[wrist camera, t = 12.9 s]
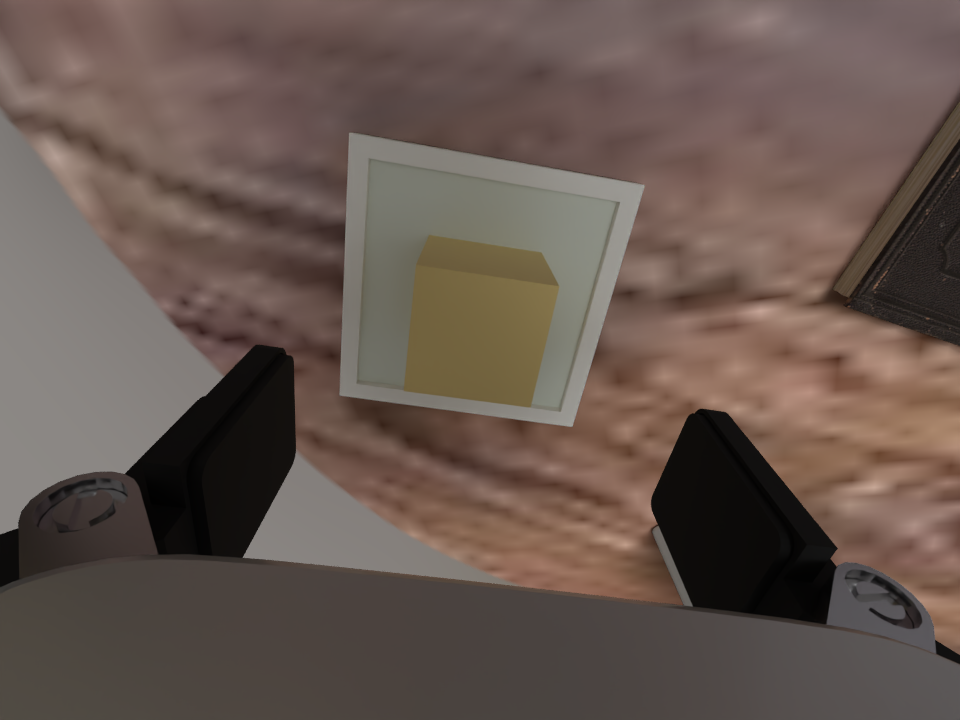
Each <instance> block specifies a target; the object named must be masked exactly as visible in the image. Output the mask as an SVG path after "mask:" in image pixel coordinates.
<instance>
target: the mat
mask: <svg viewBox="0 0 960 720" xmlns="http://www.w3.org/2000/svg"><path fill="white" fill-rule="evenodd" d="M644 187H645V185H642V184H639V183H636V182H630V181H624V180H619V179H613V178H608V177H602V176H596V175H591V174H585V173H580V172H574V171H568V170H563V169H557V168H551V167H546V166H540V165H535V164H529V163H523V162H518V161H512V160H507V159H501V158H495V157H490V156H484V155H479V154H473V153H467V152H462V151H456V150H451V149H445V148H439V147H434V146H428V145H422V144H417V143H411V142H406V141H400V140H394V139H389V138H383V137H378V136H372V135H366V134H361V133H355V132H354V133H349V149H348V176H347V203H346V231H345V258H344V285H343V312H342V340H341V367H340V394H339V396H346V397H354V398H361V399H369V400H376V401H384V402H391V403H398V404H406V405H413V406H421V407H428V408H435V409H443V410H450V411H458V412H465V413H473V414H480V415H487V416H495V417H502V418H510V419H517V420H524V421H532V422H539V423H547V424H554V425H562V426H569V427H573V423H574V420H575V417H576V413H577V410H578V407H579V403H580V400H581V397H582V393H583V390H584V387H585V383H586V380H587V377H588V373H589V370H590V367H591V363H592V360H593V357H594V353H595V350H596V347H597V343H598V340H599V337H600V333H601V330H602V327H603V323H604V320H605V317H606V313H607V310H608V307H609V303H610V300H611V297H612V293H613V290H614V287H615V283H616V280H617V277H618V273H619V270H620V267H621V263H622V260H623V257H624V253H625V250H626V247H627V243H628V240H629V237H630V233H631V230H632V227H633V223H634V220H635V217H636V213H637V210H638V207H639V203H640V200H641V197H642V193H643V190H644ZM429 235H433V236H439V237H446V238H452V239H459V240H465V241H472V242H478V243H484V244H491V245H497V246H504V247H510V248H516V249H523V250H529V251H536V252H542V254H543V256H544V258H545V260H546V262H547V264H548V265H549V267H550V269H551V271H552V273H553V275H554V277H555V279H556V281H557V283H558V284H559V286H560V287H559V291H558V295H557V299H556V303H555V308H554V312H553V316H552V320H551V324H550V328H549V333H548V337H547V341H546V345H545V349H544V354H543V358H542V362H541V366H540V370H539V375H538V379H537V383H536V387H535V391H534V395H533V400H532V404H531V408H529V407H521V406H514V405H506V404H498V403H491V402H483V401H475V400H468V399H460V398H452V397H445V396H437V395H429V394H422V393H414V392H406V391H404V382H405V371H406V361H407V351H408V340H409V330H410V320H411V310H412V299H413V289H414V279H415V268H416V263H417V261H418V259H419V257H420V254H421V252H422V250H423V248H424V245H425V243H426V241H427V239H428V236H429Z"/></svg>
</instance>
